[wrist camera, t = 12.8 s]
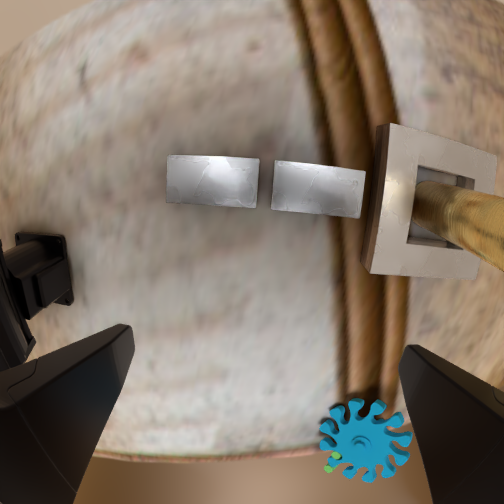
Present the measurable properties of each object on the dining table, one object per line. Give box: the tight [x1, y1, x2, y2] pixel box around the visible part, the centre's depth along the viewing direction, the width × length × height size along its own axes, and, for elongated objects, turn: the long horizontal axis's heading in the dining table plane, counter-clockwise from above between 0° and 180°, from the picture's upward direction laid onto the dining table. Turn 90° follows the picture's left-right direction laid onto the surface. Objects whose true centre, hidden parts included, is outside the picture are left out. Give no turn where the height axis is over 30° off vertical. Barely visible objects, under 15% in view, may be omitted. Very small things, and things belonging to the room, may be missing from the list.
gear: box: [319, 398, 412, 483], centre depth 25 cm, size 11×6×10 cm
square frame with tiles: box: [166, 123, 497, 280], centre depth 19 cm, size 38×10×2 cm, turn 86°
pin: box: [411, 181, 504, 272], centre depth 14 cm, size 4×4×12 cm
